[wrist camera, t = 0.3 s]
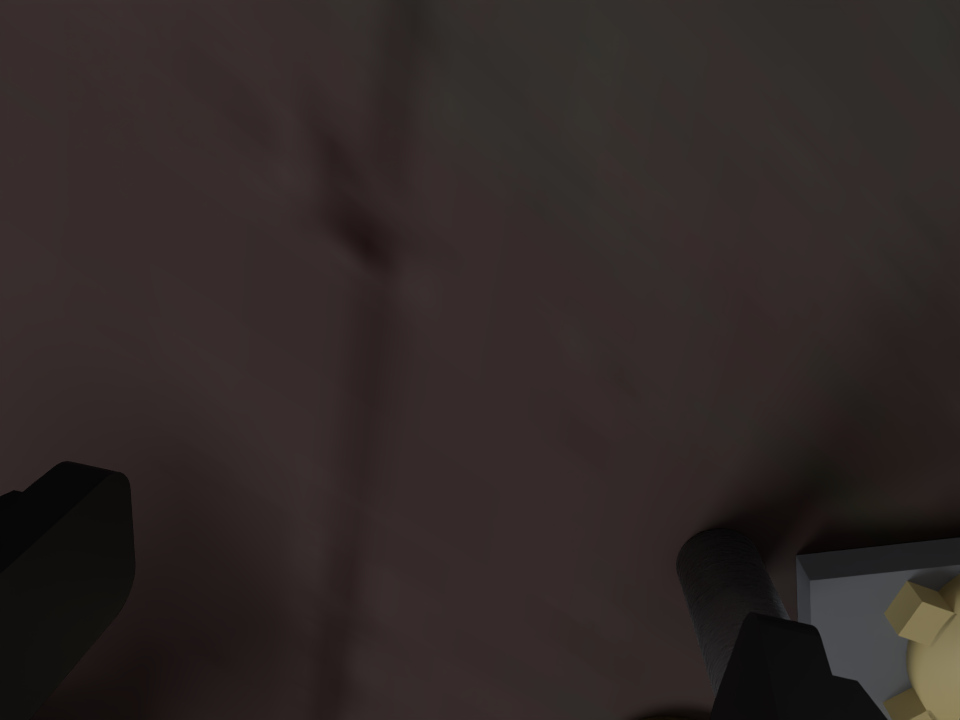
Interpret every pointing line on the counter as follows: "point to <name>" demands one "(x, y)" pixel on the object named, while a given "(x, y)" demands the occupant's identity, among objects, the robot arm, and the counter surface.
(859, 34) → the counter surface
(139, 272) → the counter surface
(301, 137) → the counter surface
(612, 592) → the counter surface
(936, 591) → the gear board
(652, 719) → the brass knob disc
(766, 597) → the grey cylinder peg
